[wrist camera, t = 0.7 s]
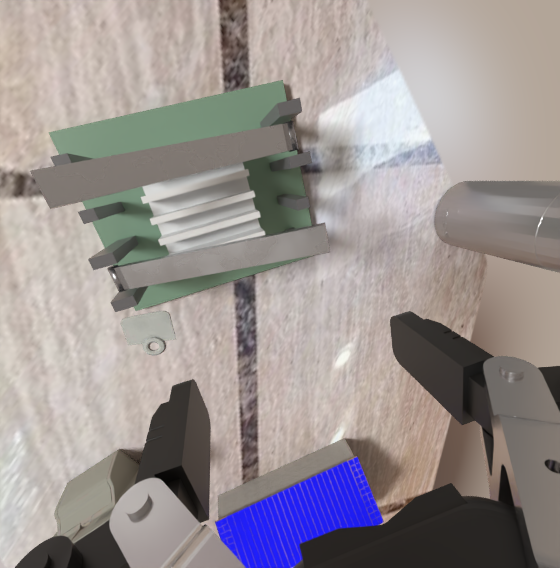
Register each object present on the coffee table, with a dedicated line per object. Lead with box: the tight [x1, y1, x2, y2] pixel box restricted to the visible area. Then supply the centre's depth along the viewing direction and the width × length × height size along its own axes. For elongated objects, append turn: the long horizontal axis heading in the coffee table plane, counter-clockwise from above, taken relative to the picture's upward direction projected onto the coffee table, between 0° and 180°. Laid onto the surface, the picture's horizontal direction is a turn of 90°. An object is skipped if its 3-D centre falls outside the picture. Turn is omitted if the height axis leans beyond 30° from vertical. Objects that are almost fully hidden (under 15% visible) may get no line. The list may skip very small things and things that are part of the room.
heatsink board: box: [49, 80, 314, 312], centre depth 30 cm, size 24×20×10 cm
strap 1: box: [30, 121, 299, 209], centre depth 22 cm, size 20×2×1 cm, turn 103°
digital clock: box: [53, 450, 139, 544], centre depth 39 cm, size 16×9×11 cm, turn 109°
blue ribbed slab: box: [215, 438, 384, 568], centre depth 51 cm, size 19×25×10 cm
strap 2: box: [107, 223, 330, 292], centre depth 25 cm, size 20×2×1 cm, turn 104°
